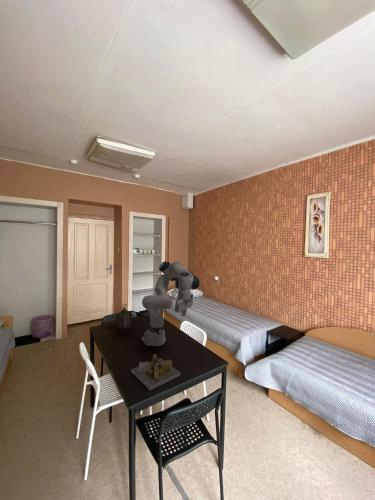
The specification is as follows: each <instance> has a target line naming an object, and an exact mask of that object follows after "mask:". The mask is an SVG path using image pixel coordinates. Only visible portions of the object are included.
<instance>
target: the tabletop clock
mask: <svg viewBox="0 0 375 500" xmlns="http://www.w3.org/2000/svg"><path fill="white" fill-rule="evenodd" d="M123 306H124V307H123ZM127 306H128V305H127V303H124V304H123V305H121V308H122V309H121V311H120V312H118V313H116V315H115V327H116V328H119V329H120V330H121V333H123V334H124V329H131V327H130V326H131V325H132V324H133V312H132V311H131V310H128V309H127Z"/></svg>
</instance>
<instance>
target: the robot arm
mask: <svg viewBox="0 0 375 500" xmlns="http://www.w3.org/2000/svg"><path fill="white" fill-rule="evenodd" d="M158 270H159V272H161V273H162V274H160V275H159V277H158V278H157V280H156V283H155V285H154V293H155V294H156V295H145V296H144V297H143V298H142V299H141V305H142V307H143V308H144V309H146V311H147V312H148V314H149V326H148V329H147V330H146V331H144V334H143V336H142V337H141V338H140V339H141V341H142V342H143V343H144V344H145V346H147V347H148V346H149V347H160V346H163V345H164V344H165V343H166V340H167V338H166V332H165V325H164V324H165V323H164V322H165V319H164V315H163V314H162V313H161V312H160V311H159V310H163V311H164V310H170V309H171V308H172V306H173V304H174V303H175V304H174V313H181V317H185V316H186V315H187V312H188V311H187V310H188V309H189V308H191V307H193V304H194V294H193V293H191V290H195V291H196V290H197V289H198V288H200V279H199V278H198V277H197V276H196V275H195V274H194V273H193V272H192V271H191V270H189V269H188V268H186V267H185V266H183V264H182V263H181V262H180V261H178V260H174V261H173V262H171V263H170V261H166V260H165V261H162V262H161V263H160V264H159V267H158ZM170 282H174V287H175V289H177V299H176V301H175V302H174V301H173V298H172V297H171V296H170V295H169V294H168V290H169V284H170Z"/></svg>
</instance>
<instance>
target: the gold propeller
mask: <svg viewBox="0 0 375 500" xmlns="http://www.w3.org/2000/svg"><path fill="white" fill-rule="evenodd" d="M157 359H158V356H157V353H154V354H152V361H153V362H154V361H157ZM149 362H150V361H142V362H138V363H139V364H138V365H139V366H138V367H139V373H145V372H147V374H149V375H153V376H154V380H159V374H160V375H161V374H162V373H163V372H164V371H165V370H172V367H173V361H172V359H162V364H161V363H159V368H160V369H159V368H158V365H157V366H154V370H152V363H151V364H149Z"/></svg>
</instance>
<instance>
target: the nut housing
mask: <svg viewBox="0 0 375 500" xmlns="http://www.w3.org/2000/svg"><path fill="white" fill-rule="evenodd" d="M162 360H163V359H162V358H160V357H159V358H157V361H154V362H153V360H152V361H148V362H149V364H151V363H152V370H154V366H157V365H158V368H159V363H161V364H162ZM159 369H160V368H159ZM130 373H131V374H132V375H133V376H134V377H135V378H136V379H137V380H138V381H139V382H140V383H141V384H142V385H143V386H144V387H145V388H146V389H147V390H148V391H152V390H154V389H155V388H157V387H160V386H162V385H163V384H164V385H165V384H166V383H168V382H170V381H172V380H174V379H176V378H179V377H180V376H181V371H179V370H178V369H176V368H175V367H174V366H172V370H165V371H164V372H163V373H162V374H161V375H160V374H159V380H154V376H153V375H149V374H147V372H145V373H139V366H136V367H134V368H131V369H130Z"/></svg>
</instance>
